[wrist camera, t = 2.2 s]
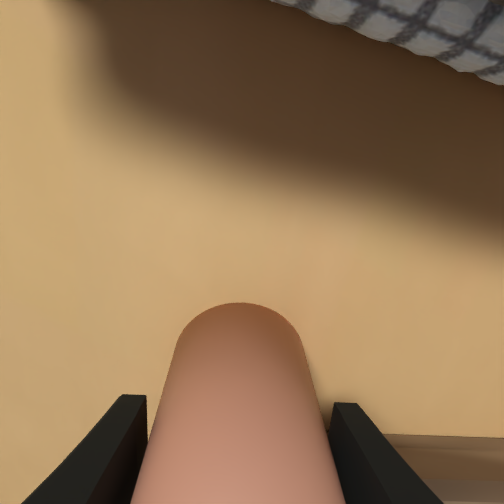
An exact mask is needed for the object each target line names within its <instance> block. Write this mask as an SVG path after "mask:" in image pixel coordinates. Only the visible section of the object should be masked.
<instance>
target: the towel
mask: <svg viewBox="0 0 504 504" xmlns="http://www.w3.org/2000/svg"><path fill="white" fill-rule="evenodd" d="M270 1H272V2H275V3H279V4H282V5H285V6H289V7H295V8H298V9H300V10H302V11H304V12H306V13H307V14H309V15H310V16H312V17H313V18H317V19H321V20H324V21H326V22H328V23H329V24H335V25H345V26H347V27H349V28H351V29H352V30H354V31H356V32H358V33H360V34H362V35H364V36H366V37H368V38H371V39H374V40H378V41H382V42H390V43H392V44H395V45H396V46H399V47H402V48H405V49H407V50H409V51H411V52H413V53H414V54H417V55H420V56H421V55H425V56H429V57H435V58H436V59H437V60H438V61H440V62H442V63H445V64H447V65H449V66H451V67H452V68H454V69H455V70H457V71H458V72H473V73H475V74H476V75H477V76H478V77H479V78H480V79H483V80H485V81H489V82H492V83H494V84H496V85H504V0H270Z"/></svg>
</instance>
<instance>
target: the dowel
mask: <svg viewBox="0 0 504 504" xmlns="http://www.w3.org/2000/svg"><path fill="white" fill-rule="evenodd" d="M130 504H346V503H345V499H344V495H343V492H342V488H341V484H340V481H339V477H338V473H337V470H336V466H335V462H334V459H333V455H332V452H331V448H330V444H329V441H328V437H327V433H326V430H325V426H324V422H323V419H322V415H321V411H320V408H319V404H318V401H317V397H316V393H315V390H314V386H313V382H312V379H311V375H310V371H309V368H308V364H307V360H306V357H305V353H304V350H303V346H302V342H301V340H300V337H299V335H298V333H297V332H296V330H295V329H294V327H293V326H292V325H291V324H290V323H289V322H288V321H287V320H286V319H285V318H284V317H283V316H281V315H280V314H278V313H277V312H275V311H273V310H271V309H269V308H266V307H263V306H260V305H256V304H250V303H229V304H223V305H219V306H216V307H213V308H211V309H208V310H206V311H205V312H203V313H201V314H199V315H198V316H197V317H195V318H194V319H193V320H192V321H191V322H190V323H189V324H188V325H187V326H186V327H185V328H184V330H183V331H182V333H181V335H180V336H179V339H178V341H177V344H176V347H175V351H174V354H173V358H172V361H171V365H170V368H169V372H168V375H167V379H166V382H165V385H164V389H163V392H162V396H161V399H160V403H159V406H158V410H157V413H156V417H155V420H154V424H153V427H152V430H151V434H150V437H149V441H148V444H147V448H146V451H145V455H144V458H143V462H142V465H141V468H140V472H139V475H138V479H137V482H136V486H135V489H134V493H133V496H132V500H131V503H130Z"/></svg>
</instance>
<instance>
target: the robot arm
mask: <svg viewBox="0 0 504 504" xmlns="http://www.w3.org/2000/svg"><path fill="white" fill-rule="evenodd" d="M328 441H329V444H330V448H331V452H332V455H333V459H334V462H335V466H336V470H337V473H338V477H339V481H340V484H341V488H342V492H343V495H344V499H345V503H346V504H444V503H443V502H442V501H441V500H440V499H439V498H438V497H437V496H436V495H435V494H434V493H433V491H432V490H431V489H430V488H429V487H428V486H427V485H426V484H425V483H424V482H423V481H422V479H421V478H420V477H419V476H418V475H417V474H416V473H415V471H414V470H413V469H412V468H411V467H410V466H409V465H408V464H407V462H406V461H405V460H404V459H403V458H402V457H401V456H400V454H399V453H398V452H397V451H396V450H395V448H394V447H393V446H392V445H391V444H390V443H389V441H388V440H387V439H386V438H385V437H384V435H383V434H382V433H381V432H380V430H379V429H378V428H377V427H376V426H375V424H374V423H373V422H372V421H371V420H370V418H369V417H368V416H367V415H366V413H365V412H364V411H363V410H362V409H361V408H360V406H359V405H358V404H357V403H339V402H334V407H333V412H332V417H331V423H330V428H329V434H328ZM147 444H148V434H147V400H146V395H128V394H122V395H121V396H120V397H119V398H118V399H117V400H116V401H115V402H114V404H113V405H112V406H111V407H110V409H109V410H108V411H107V412H106V413H105V415H104V416H103V417H102V418H101V419H100V420H99V422H98V423H97V424H96V425H95V426H94V427H93V429H92V430H91V431H90V432H89V433H88V434H87V435H86V437H85V438H84V439H83V440H82V441H81V442H80V443H79V444H78V445H77V447H76V448H75V449H74V450H73V451H72V452H71V453H70V454H69V455H68V456H67V457H66V459H65V460H64V461H63V462H62V463H61V464H60V465H59V466H58V467H57V468H56V469H55V470H54V471H53V472H52V473H51V474H50V475H49V476H48V477H47V478H46V479H45V480H44V481H43V482H42V483H41V484H40V485H39V486H38V487H37V488H36V489H35V490H34V491H33V492H32V493H31V494H30V495H29V496H28V497H27V498H26V499H25V500H24V501H23V502H22V503H21V504H130V503H131V500H132V496H133V493H134V489H135V486H136V482H137V479H138V475H139V472H140V468H141V465H142V462H143V458H144V455H145V451H146V448H147Z"/></svg>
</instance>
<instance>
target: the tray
mask: <svg viewBox="0 0 504 504" xmlns="http://www.w3.org/2000/svg"><path fill="white" fill-rule="evenodd" d="M326 433H327V437H328V434H329V432H326ZM383 435H384V437H385V438H386V439H387V440H388V441H389V443H390V444H391V445H392V446H393V447H394V448H395V450H396V451H397V452H398V453H399V454H400V456H401V457H402V458H403V459H404V460H405V461H406V462H407V464H408V465H409V466H410V467H411V468H412V469H413V470H414V471H415V473H416V474H417V475H418V476H419V477H420V478H421V479H422V481H423V482H424V483H425V484H426V485H427V486H428V487H429V488H430V489H431V490H432V491H433V493H434V494H435V495H436V496H437V497H438V498H439V499H440V500H441V501H442V502H443V503H444V504H504V438H480V437H450V436H420V435H390V434H383Z"/></svg>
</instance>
